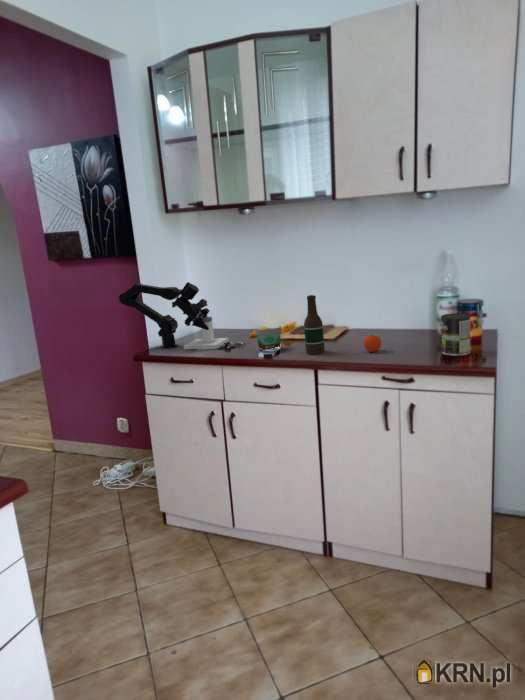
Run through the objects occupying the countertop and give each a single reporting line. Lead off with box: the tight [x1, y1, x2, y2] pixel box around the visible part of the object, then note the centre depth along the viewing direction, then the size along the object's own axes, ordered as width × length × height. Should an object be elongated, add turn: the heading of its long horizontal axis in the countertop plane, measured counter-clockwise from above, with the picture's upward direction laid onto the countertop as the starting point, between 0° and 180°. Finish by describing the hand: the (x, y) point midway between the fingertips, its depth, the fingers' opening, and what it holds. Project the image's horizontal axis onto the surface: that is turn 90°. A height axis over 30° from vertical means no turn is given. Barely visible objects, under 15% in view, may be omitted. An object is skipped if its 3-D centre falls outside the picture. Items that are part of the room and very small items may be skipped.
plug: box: [201, 316, 215, 343], centre depth 253 cm, size 4×4×12 cm
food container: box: [254, 326, 283, 352], centre depth 229 cm, size 12×6×10 cm, turn 105°
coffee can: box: [440, 313, 471, 357], centre depth 196 cm, size 10×10×14 cm
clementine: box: [363, 334, 382, 353], centre depth 211 cm, size 8×7×7 cm
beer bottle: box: [303, 294, 325, 356], centre depth 216 cm, size 8×8×24 cm
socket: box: [183, 337, 230, 350], centre depth 254 cm, size 17×15×2 cm
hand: (210, 328), depth 252 cm, fingers closed on plug, 4 cm apart
